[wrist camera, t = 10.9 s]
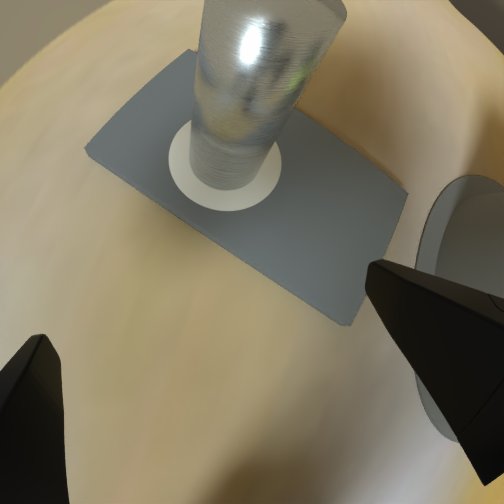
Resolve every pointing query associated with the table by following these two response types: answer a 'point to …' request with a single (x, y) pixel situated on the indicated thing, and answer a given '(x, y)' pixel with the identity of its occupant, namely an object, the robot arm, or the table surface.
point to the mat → (262, 194)
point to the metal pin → (252, 80)
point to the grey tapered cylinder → (463, 250)
